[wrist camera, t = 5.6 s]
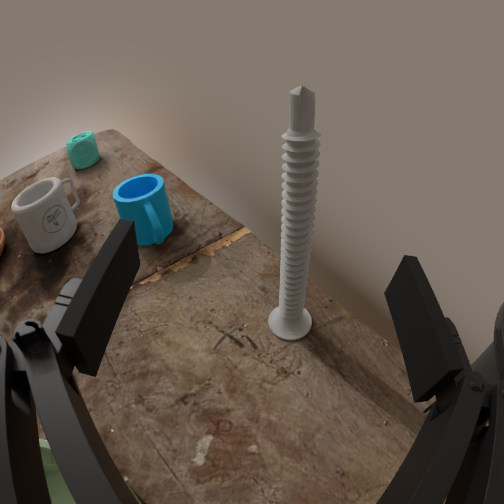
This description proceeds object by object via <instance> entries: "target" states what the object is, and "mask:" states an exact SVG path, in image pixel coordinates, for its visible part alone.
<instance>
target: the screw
mask: <svg viewBox="0 0 504 504" xmlns="http://www.w3.org/2000/svg"><path fill="white" fill-rule="evenodd" d="M314 116H315V93H314V92H313V91H311V90H310V89H308V88H306V87H305V86H303V85H301V86H299V87H297V88H295V89H294V90H292V91H291V92H290V93H289V129H288V130H287V133H285V134H283V135H282V137H283V138H284V139H286V140H287V143H286V144H283V145H282V148H283V149H285V150H287V153H285V154H283V155H282V158H283V159H284V160H286V163H284V164H283V165H282V168H283V169H284V170H285V171H286V172H285V173H283V174H282V178H283V179H284V180H285V182H283V183H282V187H283V189H285V190H284V191H283V192H282V197H283V198H284V199H283V200H282V206H283V208H282V210H281V213H282V214H283V216H282V218H281V221H282V223H283V224H282V225H281V229H282V232H281V237H282V240H281V245H282V246H281V261H280V263H281V266H280V270H281V272H280V276H281V277H280V290H279V291H280V294H279V297H280V298H279V307H277V308H275V309H274V310H273V311H272V312H271V314H270V316H269V319H268V322H269V328H270V330H271V332H272V333H273V334H274V335H275V336H277V337H278V338H280V339H283V340H288V341H292V340H298V339H301V338H302V337H304V336H306V334H307V333H308V332H309V331H310V329H311V325H312V319H311V316H310V314H309V312H308V311H307V310H306V309H304V304H305V303H304V302H305V296H306V289H307V288H306V286H307V280H308V273H309V272H308V271H309V263H310V255H311V248H312V247H311V243H312V235H313V227H314V223H313V221H314V218H315V216H314V212H315V203H316V198H315V196H316V194H317V190H316V186H317V184H318V182H317V179H316V178H317V177H318V170H317V169H316V168H317V167H318V166H319V161H318V160H317V158H318V157H319V155H320V153H319V150H318V149H317V148H318V147H319V146H320V141H319V139H317V138H318V137H319V136H320V134H319V133H318V132H316V131H315V130H314Z"/></svg>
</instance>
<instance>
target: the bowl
mask: <svg viewBox="0 0 504 504" xmlns="http://www.w3.org/2000/svg"><path fill="white" fill-rule="evenodd" d="M39 442H40V449H41V455H42V461H43V467H44V472H45V477H46V481H47V486H48V490H49V494H50V498H51V502H52V504H76V502H75V500H74V498H73V497H72V495H71V493H70V491H69V489H68V487H67V485H66V483H65V480H64V478H63V476H62V474H61V472H60V470H59V467H58V465H57V463H56V460H55V458H54V456H53V453H52V451H51V448H50V446H49V443H48V441H47V440H44V439H40V438H39ZM126 484H127V483H126ZM127 486H128V488H129V489H130V491H131V492H132V494H133V495H134V497H135V498H136V500H137V502H138V503H139V504H142V503H141V502H140V500H139V499H138V497H137V496H136V495H135V493H134V492H133V490H132V489H131V488H130V486H129V485H128V484H127Z"/></svg>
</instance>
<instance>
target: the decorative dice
mask: <svg viewBox="0 0 504 504" xmlns="http://www.w3.org/2000/svg"><path fill="white" fill-rule="evenodd" d="M66 145H67V150H68V154H69V158H70V161H71V164H72V166H73V168H75V169H78V170H79V169H84V168H87V167H90V166H92V165H94V164H95V163H96V162H98V160H99V159H100V156H99V152H98V148H97V145H96V141H95V137H94V134H93V132H90V131H88V132H84V133H81V134H78V135H76V136H74V137H72V138H71V139H69V140H68V141H67V143H66Z"/></svg>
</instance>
